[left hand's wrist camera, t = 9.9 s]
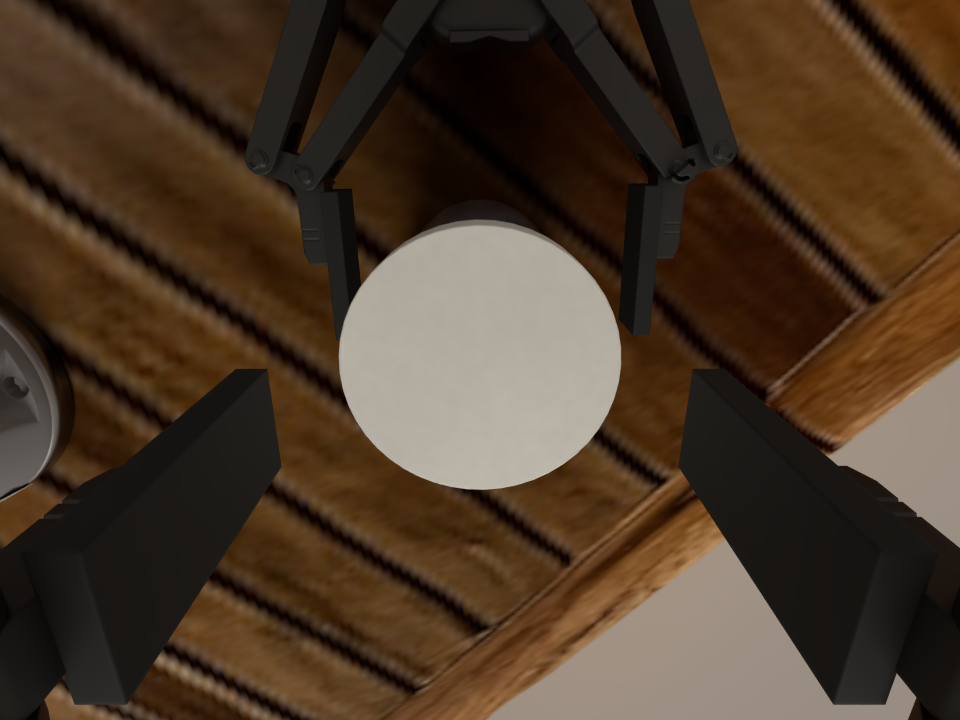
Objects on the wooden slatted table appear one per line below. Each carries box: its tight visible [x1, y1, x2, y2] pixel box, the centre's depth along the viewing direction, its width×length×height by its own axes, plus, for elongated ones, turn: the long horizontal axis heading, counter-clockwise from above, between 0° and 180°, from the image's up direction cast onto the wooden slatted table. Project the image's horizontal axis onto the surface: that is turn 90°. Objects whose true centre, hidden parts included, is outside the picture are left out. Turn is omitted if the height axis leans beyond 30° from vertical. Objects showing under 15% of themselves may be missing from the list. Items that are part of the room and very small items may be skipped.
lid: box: [339, 220, 621, 489], centre depth 17 cm, size 9×9×2 cm
